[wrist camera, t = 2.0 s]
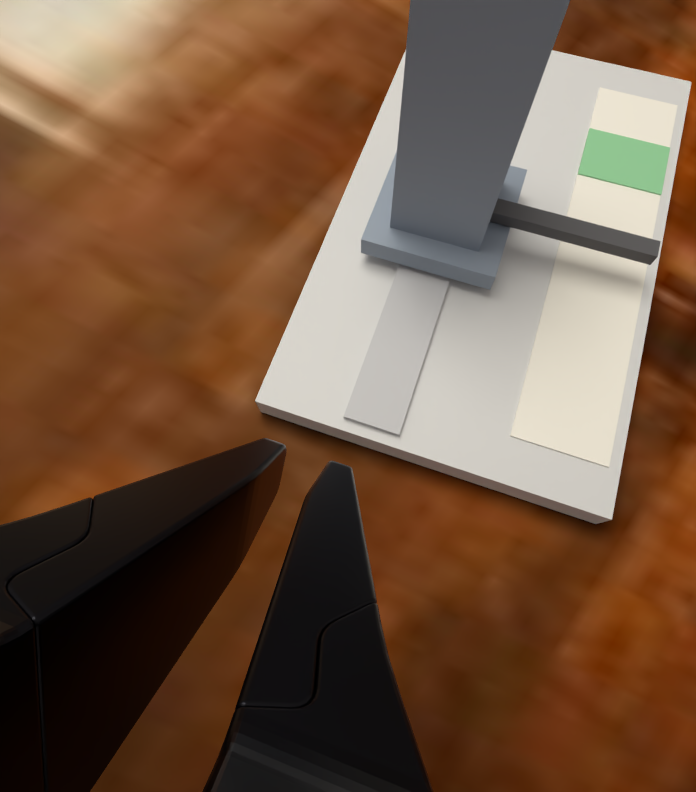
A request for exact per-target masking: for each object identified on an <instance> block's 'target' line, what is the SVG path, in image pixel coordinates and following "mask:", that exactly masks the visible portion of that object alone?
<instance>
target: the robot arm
mask: <svg viewBox="0 0 696 792" xmlns="http://www.w3.org/2000/svg"><path fill="white" fill-rule="evenodd" d="M285 456H286V446H285V445H284V444H282V443H279V442H276V441H273V440H270V439H267V438H263V439H260V440H257V441H254V442H251V443H248V444H245V445H242V446H239V447H236V448H233V449H230V450H227V451H225V452H222V453H219V454H216V455H213V456H210V457H207V458H204V459H201V460H198V461H195V462H192V463H189V464H186V465H184V466H181V467H178V468H175V469H172V470H169V471H166V472H163V473H160V474H157V475H154V476H151V477H148V478H146V479H143V480H140V481H137V482H134V483H131V484H128V485H125V486H122V487H119V488H116V489H113V490H110V491H107V492H105V493H102V494H99V495H96V496H94V499H92V498H87V499H84V500H81V501H78V502H75V503H72V504H69V505H66V506H63V507H60V508H57V509H53V510H50V511H47V512H44V513H41V514H38V515H35V516H31V517H28V518H25V519H21V520H17V521H14V522H10V523H7V524H3V525H0V792H90V790H91V789H92V788H93V786H94V785H95V783H96V782H97V780H98V779H99V777H100V776H101V774H102V773H103V771H104V770H105V768H106V767H107V765H108V764H109V762H110V761H111V759H112V758H113V756H114V755H115V753H116V752H117V750H118V749H119V747H120V746H121V744H122V743H123V741H124V740H125V738H126V737H127V735H128V734H129V732H130V731H131V729H132V728H133V726H134V725H135V723H136V722H137V720H138V719H139V717H140V716H141V714H142V713H143V711H144V710H145V708H146V707H147V705H148V704H149V702H150V701H151V699H152V698H153V696H154V695H155V693H156V692H157V690H158V689H159V687H160V686H161V684H162V683H163V681H164V680H165V678H166V677H167V675H168V674H169V672H170V671H171V669H172V668H173V666H174V665H175V663H176V662H177V660H178V659H179V657H180V656H181V654H182V653H183V651H184V650H185V648H186V647H187V645H188V644H189V642H190V641H191V639H192V638H193V636H194V635H195V633H196V632H197V630H198V629H199V627H200V626H201V624H202V623H203V621H204V620H205V618H206V617H207V615H208V614H209V612H210V611H211V609H212V608H213V606H214V605H215V603H216V602H217V600H218V599H219V597H220V596H221V595H222V593H223V592H224V590H225V589H226V587H227V586H228V584H229V583H230V581H231V580H232V578H233V576H234V575H235V573H236V572H237V570H238V568H239V567H240V565H241V563H242V561H243V559H244V557H245V556H246V554H247V552H248V550H249V548H250V546H251V544H252V542H253V540H254V538H255V536H256V534H257V532H258V530H259V528H260V526H261V524H262V522H263V520H264V518H265V516H266V514H267V512H268V510H269V508H270V506H271V504H272V502H273V500H274V498H275V496H276V494H277V491H278V488H279V485H280V480H281V475H282V471H283V466H284V461H285ZM376 603H377V600H376V594H375V589H374V583H373V578H372V573H371V567H370V562H369V557H368V551H367V546H366V540H365V535H364V530H363V524H362V519H361V513H360V508H359V503H358V497H357V492H356V487H355V481H354V476H353V471H352V468H351V467H349V466H347V465H344V464H341V463H338V462H335V461H329V462H328V463H327V465H326V466H325V468H324V469H323V471H322V472H321V474H320V475H319V477H318V478H317V480H316V481H315V483H314V484H313V485H312V487H311V488H310V490H309V492H308V493H307V495H306V497H305V500H304V502H303V505H302V508H301V511H300V514H299V517H298V520H297V523H296V526H295V529H294V532H293V535H292V538H291V541H290V544H289V547H288V550H287V553H286V557H285V560H284V563H283V566H282V569H281V572H280V575H279V578H278V581H277V584H276V587H275V590H274V593H273V596H272V599H271V602H270V605H269V608H268V611H267V614H266V617H265V620H264V623H263V626H262V629H261V632H260V635H259V638H258V641H257V644H256V647H255V650H254V653H253V656H252V659H251V662H250V665H249V668H248V671H247V674H246V678H245V681H244V684H243V687H242V690H241V693H240V696H239V699H238V702H237V705H236V709H235V712H234V714H233V717H232V720H231V723H230V726H229V729H228V731H227V734H226V737H225V740H224V743H223V745H222V748H221V751H220V753H219V756H218V758H217V761H216V763H215V765H214V768H213V770H212V772H211V774H210V776H209V778H208V781H207V783H206V785H205V787H204V789H203V792H433V789H432V786H431V783H430V781H429V778H428V775H427V772H426V769H425V766H424V763H423V760H422V757H421V754H420V751H419V748H418V745H417V742H416V739H415V736H414V733H413V730H412V727H411V724H410V721H409V719H408V716H407V713H406V710H405V707H404V704H403V701H402V698H401V695H400V692H399V689H398V685H397V682H396V679H395V676H394V672H393V669H392V666H391V662H390V659H389V656H388V651H387V647H386V643H385V638H384V634H383V630H382V625H381V620H380V614H379V609H378V605H377V604H376Z"/></svg>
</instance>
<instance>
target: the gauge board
mask: <svg viewBox="0 0 696 792" xmlns="http://www.w3.org/2000/svg"><path fill="white" fill-rule="evenodd" d="M405 57H406V51H405V53H404V55H403V58H402V60H401V62H400V65H399V67H398V69H397V72H396V74H395V76H394V79H393V81H392V83H391V86H390V88H389V90H388V93H387V95H386V97H385V100H384V102H383V104H382V107H381V109H380V111H379V114H378V116H377V118H376V121H375V123H374V125H373V128H372V130H371V132H370V135H369V137H368V139H367V142H366V144H365V146H364V149H363V151H362V153H361V156H360V158H359V160H358V162H357V165H356V167H355V169H354V172H353V174H352V176H351V179H350V181H349V183H348V186H347V188H346V190H345V193H344V195H343V197H342V200H341V202H340V204H339V207H338V209H337V211H336V214H335V216H334V218H333V221H332V223H331V225H330V228H329V230H328V232H327V235H326V237H325V239H324V242H323V244H322V246H321V249H320V251H319V253H318V256H317V258H316V260H315V263H314V265H313V267H312V270H311V272H310V274H309V277H308V279H307V281H306V284H305V286H304V288H303V291H302V293H301V295H300V298H299V300H298V302H297V305H296V307H295V309H294V311H293V314H292V316H291V318H290V321H289V323H288V325H287V328H286V330H285V332H284V335H283V337H282V339H281V342H280V344H279V346H278V349H277V351H276V353H275V356H274V358H273V360H272V363H271V365H270V367H269V370H268V372H267V374H266V377H265V379H264V381H263V384H262V386H261V388H260V391H259V393H258V395H257V398H256V400H255V402H256V404H257V406H258V408H259V409H260V411H261V412H262V413H265V414H268V415H271V416H274V417H277V418H280V419H283V420H286V421H289V422H292V423H295V424H298V425H301V426H304V427H307V428H310V429H313V430H316V431H319V432H322V433H325V434H328V435H331V436H334V437H337V438H340V439H343V440H346V441H349V442H352V443H355V444H358V445H361V446H364V447H367V448H370V449H373V450H376V451H379V452H382V453H385V454H388V455H391V456H394V457H397V458H400V459H403V460H406V461H409V462H412V463H415V464H418V465H421V466H424V467H427V468H430V469H433V470H436V471H439V472H442V473H445V474H448V475H450V476H453V477H456V478H459V479H462V480H465V481H468V482H471V483H474V484H477V485H480V486H483V487H486V488H489V489H492V490H495V491H498V492H501V493H504V494H507V495H510V496H513V497H516V498H519V499H522V500H525V501H528V502H531V503H534V504H537V505H540V506H543V507H546V508H549V509H552V510H555V511H558V512H561V513H564V514H567V515H570V516H573V517H576V518H579V519H582V520H585V521H588V522H591V523H594V524H598V523H602V522H606V521H609V520H612V516H613V511H614V505H615V500H616V494H617V489H618V483H619V478H620V472H621V467H622V461H623V456H624V450H625V445H626V439H627V434H628V428H629V423H630V417H631V412H632V406H633V401H634V395H635V390H636V384H637V379H638V373H639V368H640V362H641V357H642V351H643V346H644V340H645V335H646V329H647V324H648V318H649V313H650V307H651V302H652V296H653V291H654V285H655V280H656V274H657V269H658V263H659V258H660V252H661V247H662V241H663V236H664V230H665V225H666V219H667V214H668V208H669V203H670V197H671V192H672V186H673V181H674V175H675V170H676V164H677V159H678V153H679V148H680V142H681V137H682V131H683V126H684V120H685V115H686V109H687V104H688V98H689V93H690V87H691V82H690V81H685V80H681V79H676V78H672V77H667V76H663V75H659V74H654V73H650V72H645V71H641V70H637V69H632V68H628V67H623V66H619V65H614V64H610V63H606V62H601V61H597V60H592V59H588V58H584V57H579V56H575V55H570V54H566V53H561V52H557V51H553V50H552V51H551V54H550V57H549V60H548V62H547V65H546V68H545V71H544V73H543V76H542V79H541V82H540V84H539V87H538V90H537V93H536V95H535V98H534V101H533V104H532V106H531V109H530V112H529V114H528V117H527V120H526V123H525V125H524V128H523V131H522V134H521V136H520V139H519V142H518V145H517V147H516V150H515V153H514V156H513V158H512V161H511V164H510V165H511V166H515V167H519V168H522V169H526V170H527V173H526V176H525V180H524V183H523V186H522V190H521V193H520V196H519V200H518V204H522V205H526V206H529V207H533V208H537V209H541V210H545V211H548V212H552V213H556V214H560V215H563V216H567V217H571V218H575V219H579V220H582V221H586V222H590V223H594V224H597V225H601V226H605V227H609V228H613V229H616V230H620V231H624V232H628V233H631V234H635V235H639V236H643V237H647V238H650V239H654V240H658V241H661V242H660V247H659V253H658V257H657V258H656V259H655V260H654V261H653V263H652V264H651V265H648V264H644V263H641V262H637V261H633V260H630V259H626V258H622V257H619V256H615V255H611V254H607V253H604V252H600V251H596V250H593V249H589V248H585V247H582V246H578V245H574V244H571V243H567V242H563V241H559V240H556V239H552V238H548V237H545V236H541V235H537V234H534V233H530V232H526V231H523V230H519V229H515V228H511V227H510V230H509V234H508V237H507V240H506V244H505V247H504V250H503V254H502V257H501V261H500V264H499V267H498V271H497V274H496V277H495V280H494V282H493V284H492V286H491V289H490V290H489V289H485V288H482V287H478V286H475V285H471V284H468V283H464V282H461V281H457V280H454V279H450V278H447V277H443V276H440V275H436V274H433V273H429V272H426V271H422V270H419V269H415V268H412V267H409V266H405V265H402V264H398V263H395V262H391V261H388V260H384V259H381V258H377V257H374V256H370V255H367V254H363V253H361V238H362V236H363V233H364V231H365V228H366V226H367V223H368V221H369V218H370V216H371V213H372V211H373V208H374V206H375V203H376V201H377V198H378V196H379V193H380V191H381V188H382V186H383V184H384V181H385V179H386V176H387V174H388V171H389V169H390V166H391V164H392V161H393V159H394V156H395V154H396V151H397V144H398V133H399V122H400V111H401V100H402V90H403V79H404V68H405Z"/></svg>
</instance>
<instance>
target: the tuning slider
mask: <svg viewBox="0 0 696 792" xmlns="http://www.w3.org/2000/svg"><path fill="white" fill-rule="evenodd" d="M569 2H570V0H411V2H410V13H409V24H408V35H407V46H406V57H405V68H404V79H403V90H402V100H401V111H400V122H399V133H398V144H397V151H396V154H395V156H394V159H393V161H392V164H391V166H390V169H389V171H388V174H387V176H386V179H385V181H384V184H383V186H382V188H381V191H380V193H379V196H378V198H377V201H376V203H375V206H374V208H373V211H372V213H371V216H370V218H369V221H368V223H367V226H366V228H365V231H364V233H363V236H362V238H361V253H363V254H367V255H370V256H374V257H377V258H381V259H384V260H388V261H391V262H395V263H398V264H402V265H405V266H409V267H412V268H415V269H419V270H422V271H426V272H429V273H433V274H436V275H440V276H443V277H447V278H450V279H454V280H457V281H461V282H464V283H468V284H471V285H475V286H478V287H482V288H485V289H489V290H490V289H491V286H492V284H493V282H494V280H495V277H496V274H497V271H498V267H499V264H500V261H501V257H502V254H503V250H504V247H505V244H506V240H507V237H508V234H509V230H510V227H511V228H515V229H519V230H523V231H526V232H530V233H534V234H537V235H541V236H545V237H548V238H552V239H556V240H559V241H563V242H567V243H571V244H574V245H578V246H582V247H585V248H589V249H593V250H596V251H600V252H604V253H607V254H611V255H615V256H619V257H622V258H626V259H630V260H633V261H637V262H641V263H644V264H648V265H651V264H652V263H653V261H654V260H655V259H656V258H657V257H658V253H659V247H660V242H661V241H658V240H654V239H650V238H647V237H643V236H639V235H635V234H631V233H628V232H624V231H620V230H616V229H613V228H609V227H605V226H601V225H597V224H594V223H590V222H586V221H582V220H579V219H575V218H571V217H567V216H563V215H560V214H556V213H552V212H548V211H545V210H541V209H537V208H533V207H529V206H526V205H522V204H518V200H519V196H520V193H521V190H522V186H523V183H524V180H525V176H526V173H527V170H526V169H522V168H519V167H515V166H511V165H510V164H511V161H512V158H513V156H514V153H515V150H516V147H517V145H518V142H519V139H520V136H521V134H522V131H523V128H524V125H525V123H526V120H527V117H528V114H529V112H530V109H531V106H532V104H533V101H534V98H535V95H536V93H537V90H538V87H539V84H540V82H541V79H542V76H543V73H544V71H545V68H546V65H547V62H548V60H549V57H550V54H551V51H552V49H553V46H554V43H555V40H556V38H557V35H558V32H559V29H560V27H561V24H562V21H563V18H564V16H565V13H566V10H567V7H568V5H569Z"/></svg>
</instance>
